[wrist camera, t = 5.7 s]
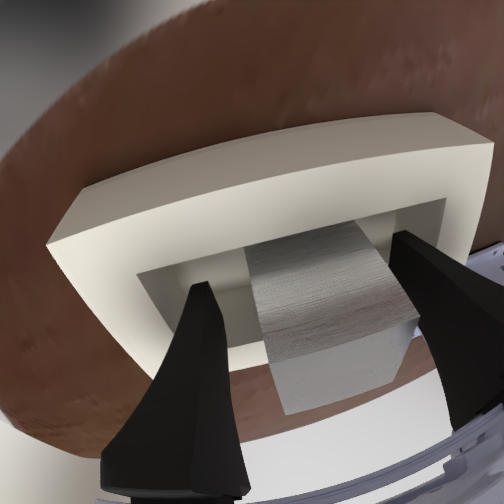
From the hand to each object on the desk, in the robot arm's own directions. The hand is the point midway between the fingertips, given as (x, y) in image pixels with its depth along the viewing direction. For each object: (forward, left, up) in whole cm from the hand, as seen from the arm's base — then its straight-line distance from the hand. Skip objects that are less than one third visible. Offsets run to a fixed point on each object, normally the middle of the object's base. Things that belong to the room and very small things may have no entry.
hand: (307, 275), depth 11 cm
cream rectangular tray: (0, 0, -3) cm, 3 cm away
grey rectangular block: (0, 0, -3) cm, 3 cm away
